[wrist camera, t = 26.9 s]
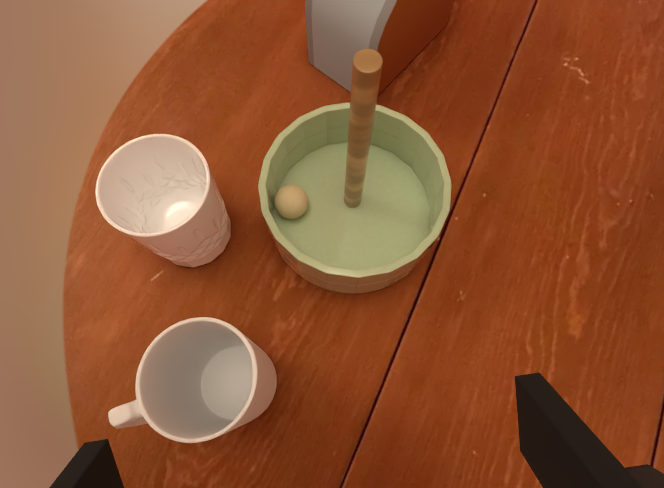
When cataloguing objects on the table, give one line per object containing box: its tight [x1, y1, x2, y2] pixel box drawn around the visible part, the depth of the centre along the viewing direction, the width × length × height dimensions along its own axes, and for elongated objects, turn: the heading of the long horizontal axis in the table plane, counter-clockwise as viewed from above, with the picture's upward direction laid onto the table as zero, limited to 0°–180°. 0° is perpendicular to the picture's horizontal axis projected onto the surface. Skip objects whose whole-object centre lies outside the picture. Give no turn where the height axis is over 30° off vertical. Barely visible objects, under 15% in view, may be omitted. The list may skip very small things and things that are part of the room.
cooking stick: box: [344, 49, 383, 208], centre depth 32 cm, size 2×2×18 cm
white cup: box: [96, 134, 231, 267], centre depth 36 cm, size 8×8×10 cm
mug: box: [108, 317, 277, 443], centre depth 30 cm, size 10×7×12 cm, turn 113°
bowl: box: [258, 102, 451, 294], centre depth 38 cm, size 15×15×6 cm
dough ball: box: [274, 185, 308, 219], centre depth 39 cm, size 3×3×3 cm
